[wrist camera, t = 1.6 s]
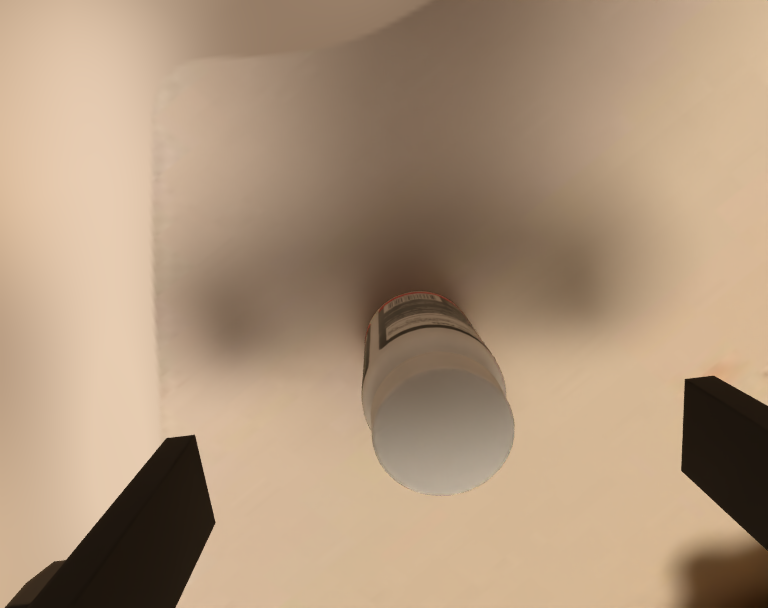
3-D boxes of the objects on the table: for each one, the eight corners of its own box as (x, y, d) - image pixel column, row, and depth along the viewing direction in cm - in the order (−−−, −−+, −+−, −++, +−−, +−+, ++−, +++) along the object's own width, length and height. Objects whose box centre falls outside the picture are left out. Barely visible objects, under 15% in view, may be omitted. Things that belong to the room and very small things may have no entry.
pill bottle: (433, 407, 22) (466, 538, 14) (345, 357, 21) (327, 463, 13) (492, 324, 21) (564, 412, 13) (402, 268, 21) (419, 324, 12)
